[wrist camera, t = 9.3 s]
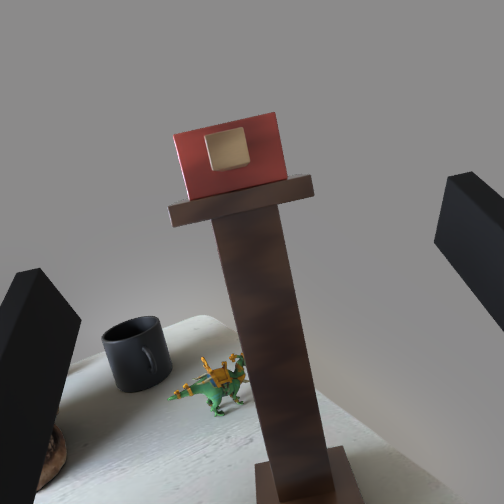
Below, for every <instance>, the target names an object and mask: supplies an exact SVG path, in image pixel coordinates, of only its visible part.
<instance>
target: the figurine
mask: <svg viewBox="0 0 504 504" xmlns="http://www.w3.org/2000/svg"><path fill="white" fill-rule="evenodd" d="M236 358H240V359H239V360H238V361H237V363H236V365H235V371H234V372H232V371H230V370H228V369H227V362H226V361H225V362H222V365H223V367H222V368H219V369H215V370H211V368H210V367H209V366H208V364H207V362H206V360H205V358H204V357H202V358H201V360H202V362H203V363H204V365H203V366H204V367H205V369H206V370H207V373H205V374H203V375H201V376H199V377H198V378H192V379H195V380H198V379H200V380H199V381H198V382H196V383H195V384H193V385H191V386H188V384H187V383H186V384H185V385H184V386H183V388H184V389H185V387H186V389H185V390H183V391H182V392H180V393H179V390H176V391H175V392H174V394H175V395H173V396H171V397H170V398H168V399H167V400H173V399H181V398H182V397H186V396H193V395H194V394H199V393H201V394H204V395H206V396H207V397H208V400H207V403H208V404H209V406H211V412H212V411H214V412H215V416H214V417H216V415H219V416H224V415H225V414H224V412H223V411H220V412H219V411H217V409H220V407H219V406H218V405H219V404H220V403H221V400H222V397H224V396H228V395H230V397H232V398H233V400H234V401H235V402H237V403H238V404H242V405H243V404H244V403H243V401H241V402H239V400H238V399H239V398H240V397H237V396H236V394H237V392H238V390H239V388H240V384H241V383H242V382H244V383H247V382H249V380H244V379H245V373H244V368H243V366H246V364H245V360H244V356H243V353H241V355H234V354H231V356H230V357H229V359H230V360H232V362H235V359H236ZM233 359H234V360H233ZM223 363H224V364H223ZM201 378H202V379H201ZM212 402H213V403H212Z"/></svg>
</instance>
